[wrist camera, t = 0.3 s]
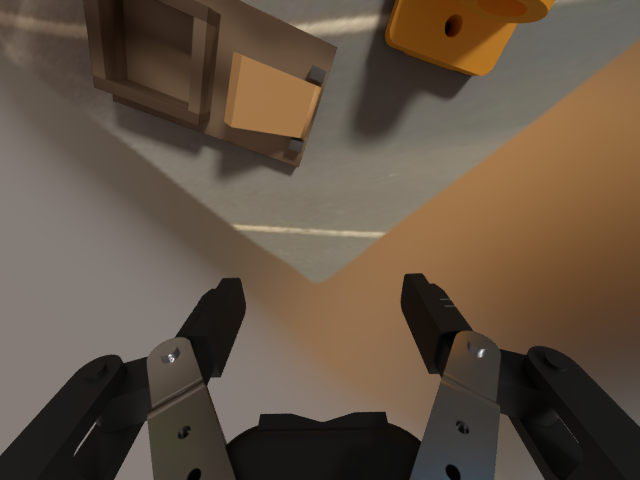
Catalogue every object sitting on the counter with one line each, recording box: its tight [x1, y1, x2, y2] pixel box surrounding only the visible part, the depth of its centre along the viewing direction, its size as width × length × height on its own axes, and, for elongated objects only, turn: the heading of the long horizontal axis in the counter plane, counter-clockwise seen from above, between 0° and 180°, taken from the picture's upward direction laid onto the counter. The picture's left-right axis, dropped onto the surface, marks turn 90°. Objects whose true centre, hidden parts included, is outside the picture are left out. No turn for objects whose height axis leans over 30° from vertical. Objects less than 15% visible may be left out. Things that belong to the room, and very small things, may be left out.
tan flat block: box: [224, 52, 321, 139], centre depth 22 cm, size 5×9×1 cm
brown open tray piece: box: [83, 0, 337, 167], centre depth 23 cm, size 12×20×5 cm, turn 70°
